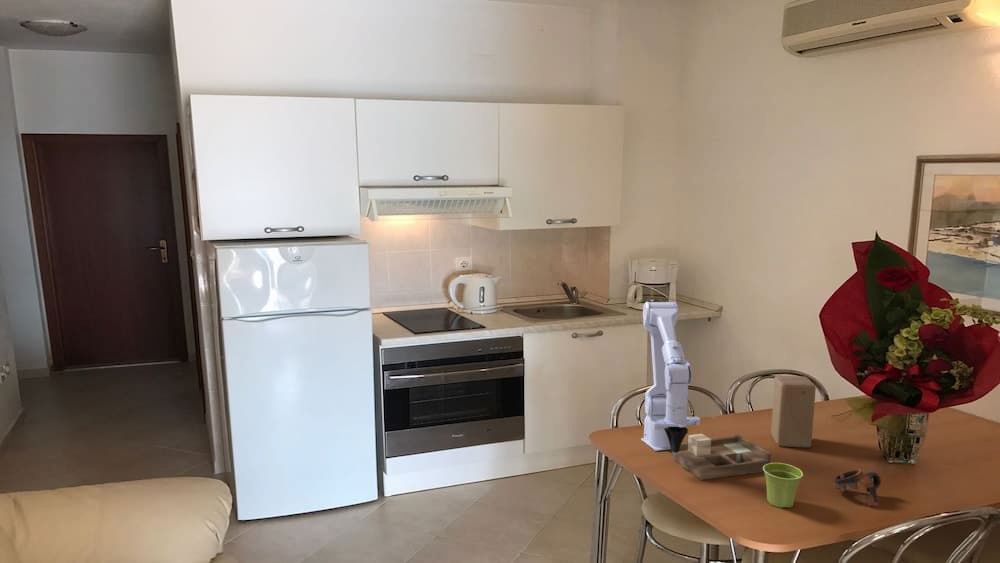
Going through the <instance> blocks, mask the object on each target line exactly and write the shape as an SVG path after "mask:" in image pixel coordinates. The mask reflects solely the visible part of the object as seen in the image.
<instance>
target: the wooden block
mask: <svg viewBox="0 0 1000 563" xmlns="http://www.w3.org/2000/svg"><path fill="white" fill-rule="evenodd" d="M773 382H774V383H773V397H772V410H771V411H772V412H771V428H770V434H771V437H772V438H773V440H774V441H775V444H776V445H777V446H778V447H786V448H787V447H789V448H791V447H792V448H803V449H804V448H805V449H807V448H811V446H812V441H813V439H812V438H813V428H814V418H815V415H814V414H815V413H814V412H815V401H816V391H817V390H816V385H815V384H814V383H813V382H812V381H811V380H810V379H809V378H808V377H807V376H803V375H799V376H798V375H776V376H775V377H774V380H773Z"/></svg>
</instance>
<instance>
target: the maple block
mask: <svg viewBox="0 0 1000 563" xmlns="http://www.w3.org/2000/svg"><path fill="white" fill-rule="evenodd" d="M711 439H712V438H710V437H708V436H706V435H705V434H703V433H695V434H689V435H688V438H687V442H688V451H690V452H691V453H693V454H694V455H695V456H702V455H710V451H711Z"/></svg>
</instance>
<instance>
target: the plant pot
mask: <svg viewBox="0 0 1000 563" xmlns="http://www.w3.org/2000/svg"><path fill="white" fill-rule="evenodd" d="M763 471H764V476H765V481H766V482H765V484H766V500H767V501H768V503H769V504H770V505H771V506H774V507H776V508H783V509H784V508H788V509H789V508H792V507H793V506H794V503H795V499H796V495H797V491H798V487H799V483H800V482H801V480H802V478H803V477H804V472H803V471H802V469H800V468H798V467H796V466H794V465H791V464H787V463H782V462H770V463H769V464H766V465H764V466H763Z"/></svg>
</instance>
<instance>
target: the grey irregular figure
mask: <svg viewBox="0 0 1000 563" xmlns="http://www.w3.org/2000/svg"><path fill="white" fill-rule="evenodd" d="M842 476H843V477H841V475H840V474H838V475H836V476H835V477H834V478H833V481H834V483H835V485H834V489H835V490H841V491H842V492H844V493H845V490H846V488H847V487H850V488H852V489H853V490H858V489H859V487H858V482H860V483H861V485H862V486H863V487H864V488H865V489H866V492H868V493H870V494H869V496H867V497H865V501H866V504H867V507H872V506H874V505H876V504H877V503H878V501H879V499H878V495H877V490H878V489H879V487H880V485H881V482H882V481H881V477H880V475H879V474H878V473H877V472H875V471H871V472H867V473H863V471H862V469H859V468H856V469H851V470H848V471H845V472H843V473H842Z"/></svg>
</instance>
